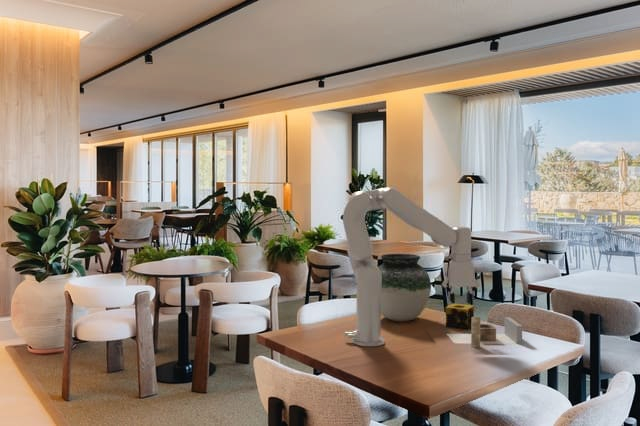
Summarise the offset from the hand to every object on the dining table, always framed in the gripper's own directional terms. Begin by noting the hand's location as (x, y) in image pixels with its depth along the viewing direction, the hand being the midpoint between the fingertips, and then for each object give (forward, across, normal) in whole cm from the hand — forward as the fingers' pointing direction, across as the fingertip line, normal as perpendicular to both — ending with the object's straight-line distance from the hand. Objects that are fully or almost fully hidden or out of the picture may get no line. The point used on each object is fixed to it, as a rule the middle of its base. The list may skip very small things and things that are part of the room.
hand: (460, 302), depth 206 cm
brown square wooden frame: (+15, +9, 0) cm, 17 cm away
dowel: (+16, +3, -11) cm, 19 cm away
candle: (+16, +5, +20) cm, 26 cm away
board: (+16, +9, 0) cm, 18 cm away
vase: (+16, -19, +37) cm, 44 cm away
